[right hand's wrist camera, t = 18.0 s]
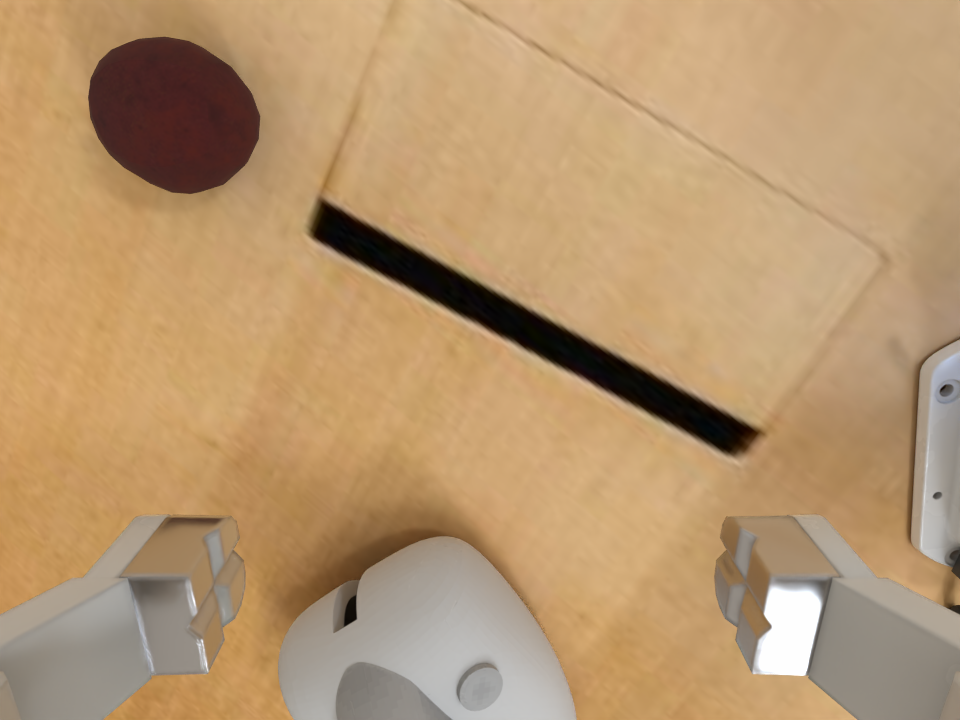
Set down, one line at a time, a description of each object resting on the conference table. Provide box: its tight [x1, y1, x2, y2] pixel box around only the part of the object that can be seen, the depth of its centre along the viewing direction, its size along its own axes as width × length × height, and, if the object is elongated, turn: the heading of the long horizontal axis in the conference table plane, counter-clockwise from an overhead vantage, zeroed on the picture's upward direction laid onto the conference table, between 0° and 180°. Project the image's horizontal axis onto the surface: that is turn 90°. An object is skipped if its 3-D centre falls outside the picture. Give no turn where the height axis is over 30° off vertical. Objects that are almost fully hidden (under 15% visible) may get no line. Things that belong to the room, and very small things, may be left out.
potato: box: [88, 37, 260, 194], centre depth 32 cm, size 7×8×7 cm
